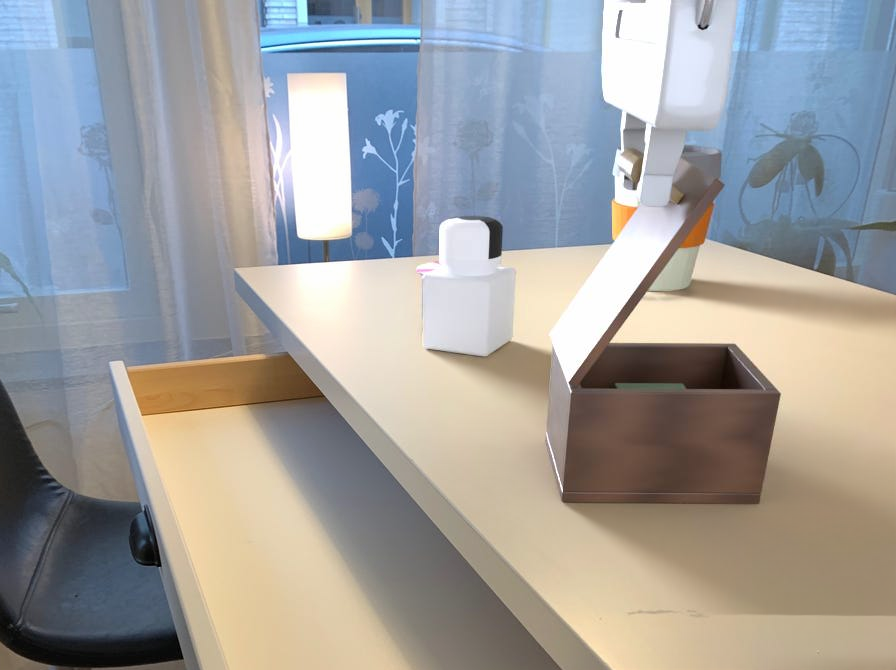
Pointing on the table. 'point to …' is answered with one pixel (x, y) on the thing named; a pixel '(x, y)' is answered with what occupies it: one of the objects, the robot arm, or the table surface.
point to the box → (662, 426)
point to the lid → (630, 265)
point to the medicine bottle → (468, 290)
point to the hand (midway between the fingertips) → (642, 196)
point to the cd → (428, 267)
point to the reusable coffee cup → (685, 257)
